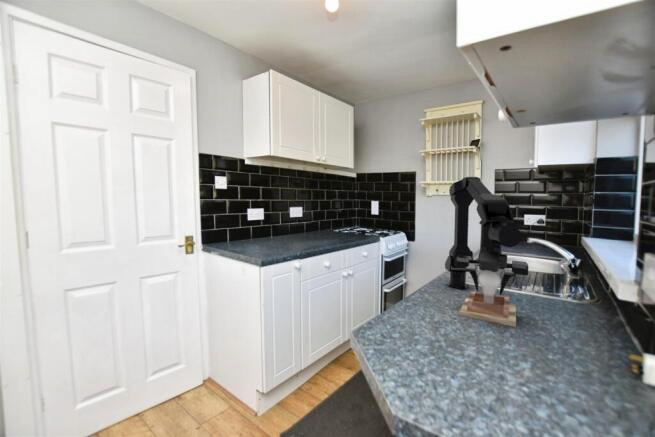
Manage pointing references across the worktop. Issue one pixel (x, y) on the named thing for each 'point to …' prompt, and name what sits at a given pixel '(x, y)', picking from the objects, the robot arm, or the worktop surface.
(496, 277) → the lightbulb
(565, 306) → the worktop surface
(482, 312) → the holder
